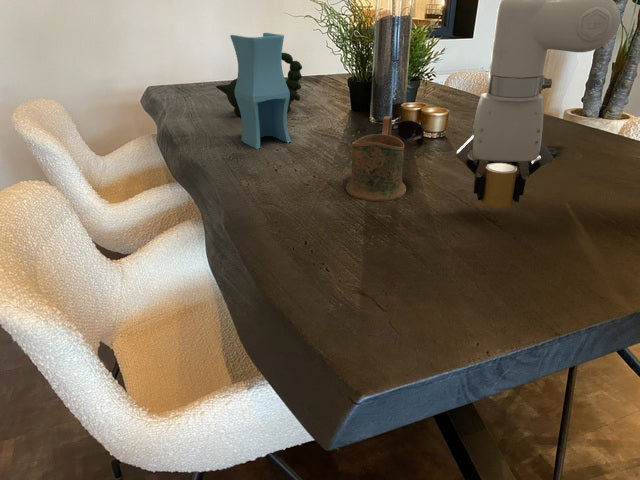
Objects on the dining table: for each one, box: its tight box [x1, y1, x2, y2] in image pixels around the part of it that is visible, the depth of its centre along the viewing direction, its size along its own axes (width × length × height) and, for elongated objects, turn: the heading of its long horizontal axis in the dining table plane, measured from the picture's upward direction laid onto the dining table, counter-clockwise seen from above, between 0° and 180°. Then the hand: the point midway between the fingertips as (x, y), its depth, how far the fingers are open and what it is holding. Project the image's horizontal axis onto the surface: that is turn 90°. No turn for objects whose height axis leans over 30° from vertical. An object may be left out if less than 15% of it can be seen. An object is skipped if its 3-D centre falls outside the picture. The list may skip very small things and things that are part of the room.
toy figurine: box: [215, 52, 303, 117], centre depth 145 cm, size 9×19×25 cm
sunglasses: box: [373, 119, 425, 146], centre depth 120 cm, size 10×12×5 cm
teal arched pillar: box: [229, 32, 292, 150], centre depth 119 cm, size 10×10×25 cm
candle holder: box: [480, 163, 518, 209], centre depth 81 cm, size 5×5×6 cm
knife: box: [474, 147, 560, 166], centre depth 109 cm, size 25×6×1 cm, turn 112°
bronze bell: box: [345, 115, 407, 202], centre depth 95 cm, size 12×18×12 cm, turn 163°
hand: (497, 197), depth 82 cm, fingers closed on candle holder, 5 cm apart
